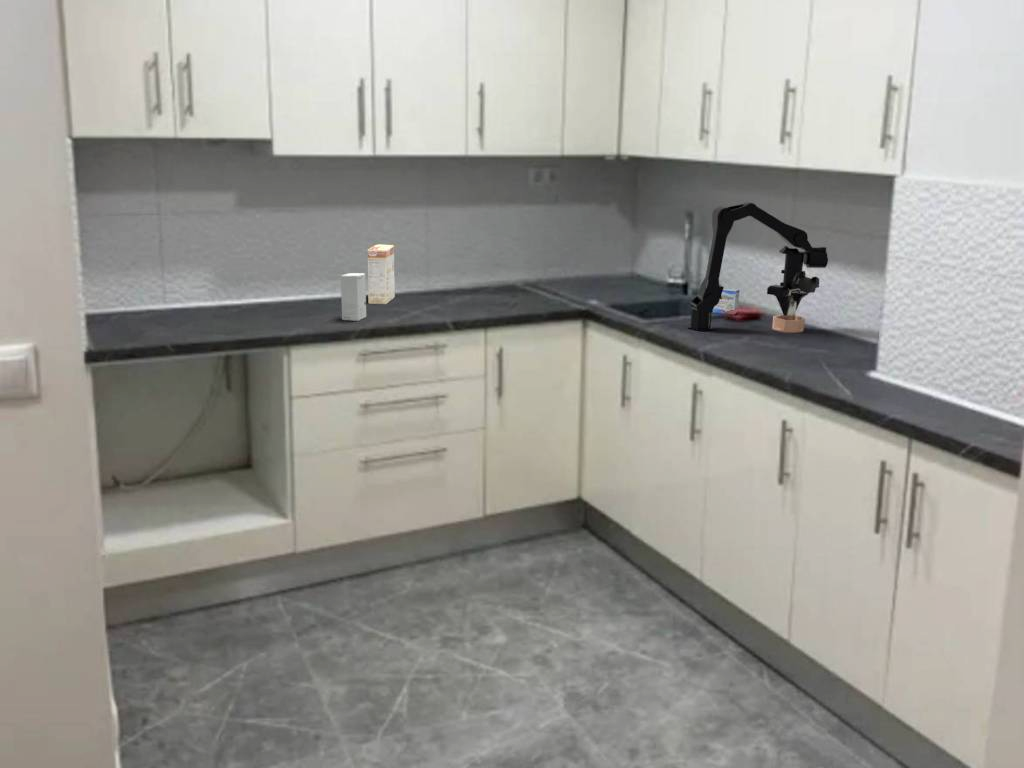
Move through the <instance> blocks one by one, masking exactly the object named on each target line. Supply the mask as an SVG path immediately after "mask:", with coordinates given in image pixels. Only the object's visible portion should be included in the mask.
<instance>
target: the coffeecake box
mask: <svg viewBox="0 0 1024 768" xmlns="http://www.w3.org/2000/svg"><path fill="white" fill-rule="evenodd" d="M367 283H368V284H367V289H368V290H367V294H368V295H367V296H368V297H367V298H368V301H367V302H368V304H371V305H372V304H373V305H374V304H375V305H387V304H388V303H390V301H392V300H393V299H394V298H395V297H396V296H395V292H396V291H395V244H381V243H380V244H379V243H378V244H375V245H373V246H372V247H369V248H368V249H367Z"/></svg>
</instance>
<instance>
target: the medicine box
mask: <svg viewBox="0 0 1024 768" xmlns="http://www.w3.org/2000/svg"><path fill="white" fill-rule="evenodd" d="M721 297H722V299H720V300H719V303H718V304H717V305H716V306H714V309H713V311H712V313H713V314H718V315H724V314H723V313H725V312H727V311H730V310H735V309H738V310H739V303H740V302H739V301H740V300H739V299H740V290H739V289H732V288H723V292H722V296H721Z"/></svg>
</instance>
